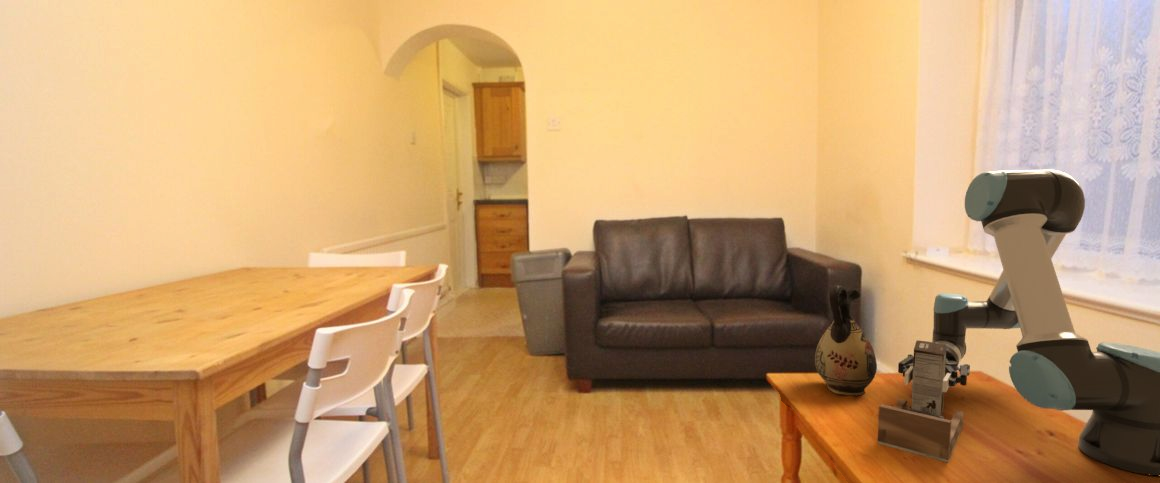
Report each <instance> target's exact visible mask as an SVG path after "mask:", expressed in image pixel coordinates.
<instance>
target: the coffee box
mask: <svg viewBox="0 0 1160 483" xmlns="http://www.w3.org/2000/svg"><path fill="white" fill-rule="evenodd" d="M913 356H914V359H913V379H912V380H911V382H912V383H911V385H912V386H911V402H910V403H911V404H910V407H911V408H910V409H915V410H919V411H923V412H928V413H932V414H937V415H941V416H943V412H944V404H945V402H944V401H945V399H944V398H945V392H942V384H943V379H944V378H945V367H946V344H937V343H933V342H932V341H927V340H926V341H925V340H915V345H914V347H913Z"/></svg>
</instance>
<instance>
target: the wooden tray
mask: <svg viewBox="0 0 1160 483" xmlns="http://www.w3.org/2000/svg"><path fill="white" fill-rule="evenodd" d="M903 407H906V408H908V399H905V398H899V399H898V400H897V402H896V403H895V405H894V406H890V405H886V404H881V403H880V404H879V406H878V423H877V425H878V427H877V443H878V445H879V444H880V445H883V446H888V447H890V448H894V449H898V450H902V451H905V452H908V453H912V454H916V455H919V456H923V457H927V458H931V459H935V460H938V461H942V462H946V463H949V462H950V459H951V457H952V454H953V452H954V450H955V447H956V444H957V441H958V439H959V436H960V434H961V431H962V429H963V427H964V426H963V424H964V411H959V410H954V413H953V415H952V418H951V419H946V418H944V419H943V418H938V417H934V416H930V415H925V414H921V413H917V412H912V411H908V410H904V409H902V408H903Z"/></svg>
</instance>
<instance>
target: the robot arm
mask: <svg viewBox="0 0 1160 483" xmlns="http://www.w3.org/2000/svg"><path fill="white" fill-rule="evenodd" d="M1085 207H1086V198H1085V194H1084V190H1083V189H1082V187H1081V185H1080V183H1079V182H1078V181H1077V180H1076V179H1075V178H1073V177H1072V176H1071V175H1069V174H1068V173H1066V172H1062V171H1061V170H1056V169H1047V168H1046V169H1031V170H1029V169H1028V170H1027V169H1025V170H1024V169H1023V170H1003V169H999V170H994V171H985V172H981V173H979V174H978V175H976V176H975V177H974V178H973V179H972V180H971V182H970V183H969V185H968V187H967V190H966V193H965V195H964V209H965V210H964V211H965V213H966V215H967V217H968V218H970V220H973V221H975V222H981V224H982V229H983V232H984V233H986V234H988V236H989V235H990V236H992V237H993V239H994V242H995V245H996V249H997V251H998V255H999V259H1000V262H1001V267H1002V269H1003V270H1002V272H1001V273H1000V275H999V277H998V279H997V281H996V283H995V285H994V287H993V289H992V291H991V293H990V295H989V296H988V298H987V300H985V301H983V300H982V301H979V300H978V301H977V300H976V301H975V300H973V301H971V300H970V301H969V300H968V298H967V296H966V295H963V294H959V293H947V292H946V293H945V292H943V293H942V292H941V293H939V294H937V295H936V296H935V297H934V303H933V328H932V340H931V342H933V343H937V344H946V367H945V378H944V379H943V384H942V392H944V393H947V392H948V391H949V390H948V389H949V388H950V387H956V385H957V384H960V385H961V386H965V387H966V386H967V384H968V377H969V376H970V372H971V371H970V369H971V365H970V364H967V363H966V364H960V363H961V360H962V359H963V358H964V357H965V355H966V354H967V343H966V336H967V335H966V332H967V330H968V329H981V330H982V329H993V330H994V329H999V330H1010V329H1011V330H1012V329H1020V332H1021V335H1022V337H1021V339H1020V340H1019V342H1017V344H1016V350H1017V352H1015V353H1013V354H1012V356H1011V357H1010V359H1009V364H1010V365H1008V372H1009V378H1010V380H1011V383H1012V384H1013V387H1014V388H1015V389H1016V391H1017V392H1018V393H1019V395H1020V396H1021V398H1023V399H1025V400H1026V401H1027V402H1028V403H1030V404H1031V405H1032V406H1035V407H1037V408H1040V409H1047V410H1056V411H1091V415H1090V417H1089V418H1088V420H1087V422H1086V423H1085V425H1084V427H1083V428H1082V430H1081V432H1079V433H1080V434H1079V436H1078V448H1079V450H1080V451H1081V452H1082V453H1083V454H1084V455H1085V454H1086V455H1087V456H1088V457H1090V458H1092V459H1093V460H1096V461H1098V462H1100V463H1103V464H1105V465H1108V466H1111V467H1114V468H1117V469H1120V470H1123V471H1128V472H1132V473H1136V474H1140V473H1141V474H1142V475H1145V474H1148V475H1147V476H1151V475H1160V352H1159V351H1155V350H1151V349H1147V348H1142V347H1138V346H1135V345H1134V346H1133V345H1129V344H1122V343H1118V342H1117V343H1116V342H1109V341H1108V342H1107V341H1103V342H1100V343H1098V344H1097V347H1096V348H1095V350H1096V351H1092V350H1091V345H1090V342H1089V340H1088V338H1085V337H1084V336H1081V335H1079V334H1077V333H1076V331H1075V329H1074V325H1073V322H1072V318H1071V316H1070V313H1069V310H1068V307H1067V304H1066V301H1065V298H1064V295H1063V294H1064V293H1063V290H1062V288H1061V285H1060V281H1059V279H1058V275H1057V273H1056V270H1055V267H1054V264H1053V261H1052V259H1053V257H1054V255H1055V253H1056V252H1057V251H1058V250H1059V249H1058V248H1059V247H1060V245H1061V243H1062V241H1063V240H1064V239H1065V237H1066V235H1067V234H1071V233H1073V232H1075V231H1076V229H1077V227H1078V226H1079V224H1080V223H1081V220H1082V218H1083V216H1084V211H1085V209H1086V208H1085ZM913 359H914V354H907V357H905V358H904V359H902V360H901V361H899V362H898V367H897V369H898V370H897V373H899V374H902V377H904V381H903V382H904V385H909V384H910V383H911V382H912V380H913ZM959 364H960V365H959ZM958 373H959V375H958ZM1141 474H1140V475H1141ZM1149 474H1150V475H1149Z"/></svg>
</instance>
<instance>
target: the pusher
mask: <svg viewBox="0 0 1160 483" xmlns="http://www.w3.org/2000/svg"><path fill="white" fill-rule="evenodd" d="M902 409H904V410H908V411H912V412H917V413H921V414H925V415H930V416H934V417H938V418H943V419H945V416H944V415H942V416H941V415H937V414H932V413H928V412H923V411H919V410H915V409H911V408H910V407H907V408H906V407H903V408H902Z"/></svg>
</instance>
